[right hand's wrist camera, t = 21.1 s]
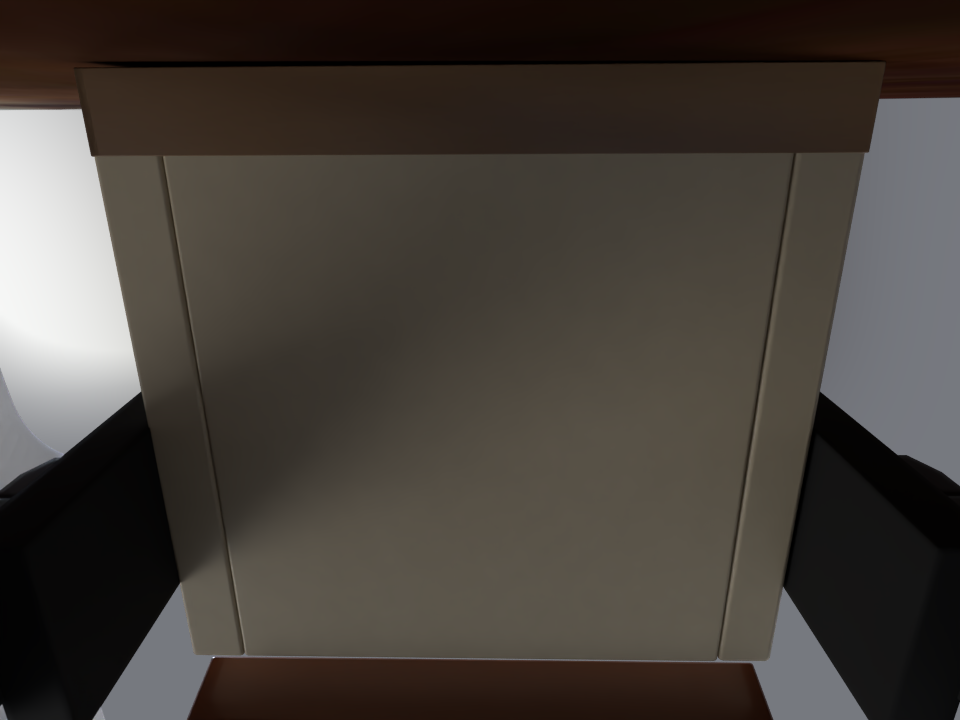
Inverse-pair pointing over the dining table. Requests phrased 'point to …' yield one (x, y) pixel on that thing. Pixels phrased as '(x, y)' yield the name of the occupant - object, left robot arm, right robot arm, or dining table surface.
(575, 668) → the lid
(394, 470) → the chest
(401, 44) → the dining table surface
